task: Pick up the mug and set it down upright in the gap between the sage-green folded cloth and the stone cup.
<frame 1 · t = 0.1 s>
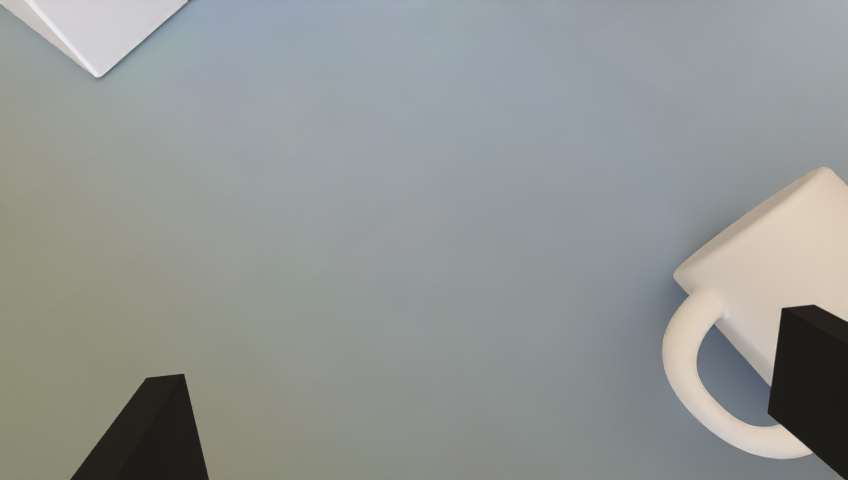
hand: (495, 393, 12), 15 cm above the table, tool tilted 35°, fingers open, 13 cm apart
mug: (739, 345, 28), on the table
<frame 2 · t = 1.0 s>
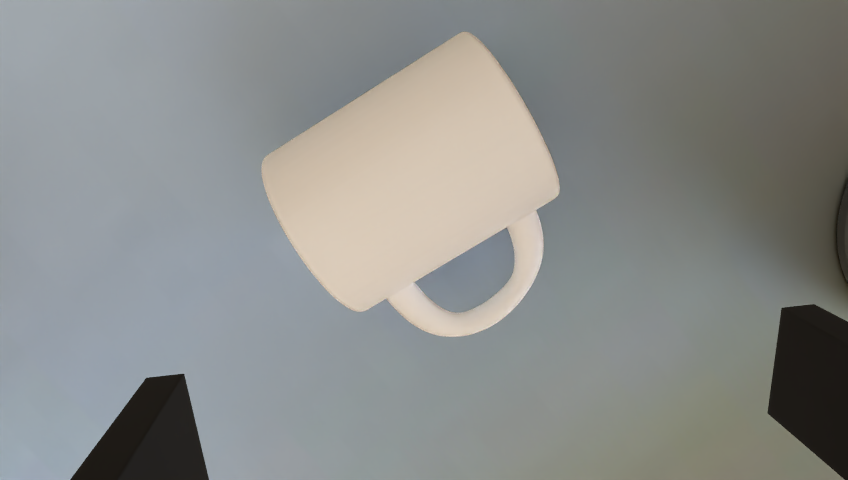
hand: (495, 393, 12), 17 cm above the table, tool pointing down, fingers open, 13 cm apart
mug: (428, 195, 28), on the table
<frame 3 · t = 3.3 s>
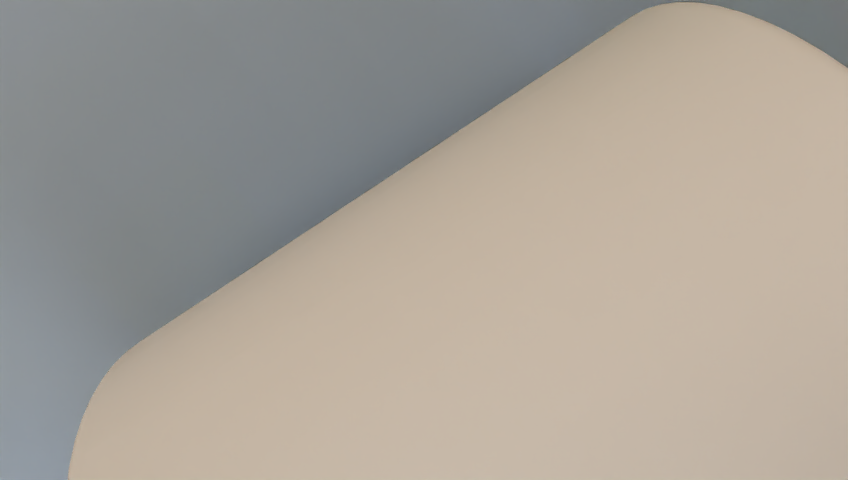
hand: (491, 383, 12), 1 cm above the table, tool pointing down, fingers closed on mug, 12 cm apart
mug: (508, 353, 14), on the table, touching gripper
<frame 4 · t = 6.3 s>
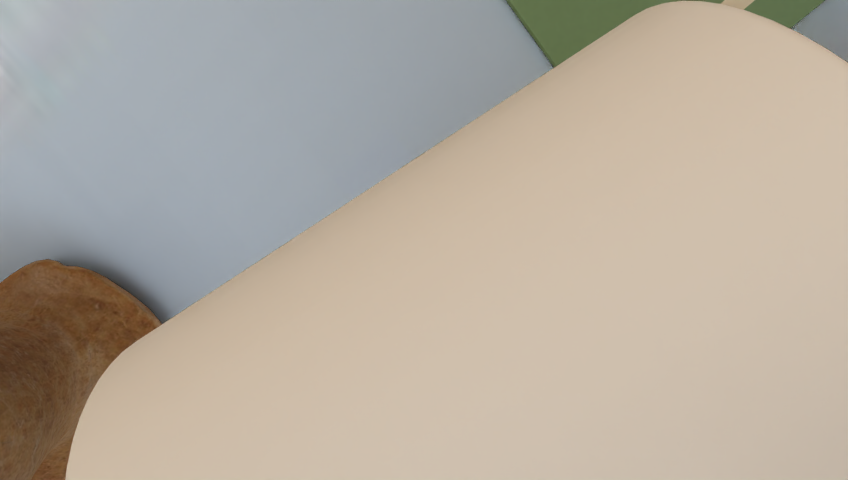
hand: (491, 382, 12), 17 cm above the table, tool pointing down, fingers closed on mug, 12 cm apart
stone cup: (41, 368, 29), on the table
mug: (507, 353, 14), point 16 cm above the table, touching gripper
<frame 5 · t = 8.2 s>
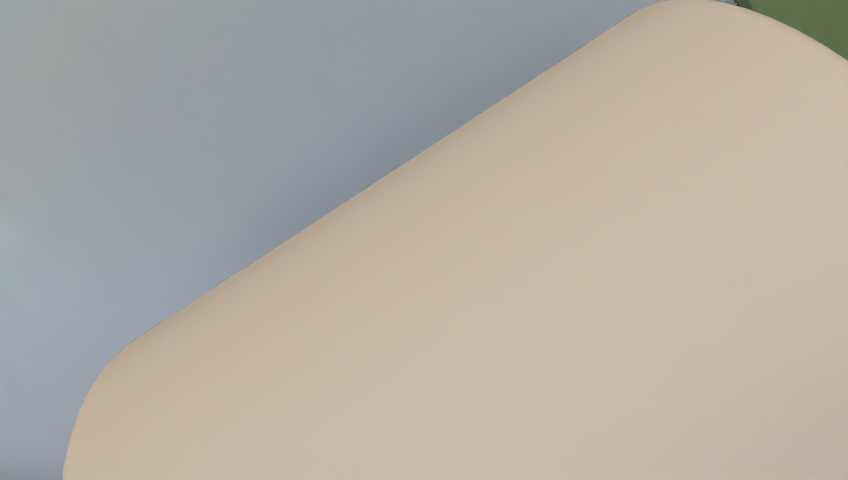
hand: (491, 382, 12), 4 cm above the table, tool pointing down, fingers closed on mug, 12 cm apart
mug: (506, 352, 14), point 2 cm above the table, touching gripper
when the fingers open (1 cm above the table, at t = 9.6 s): mug stays where it is, on the table.
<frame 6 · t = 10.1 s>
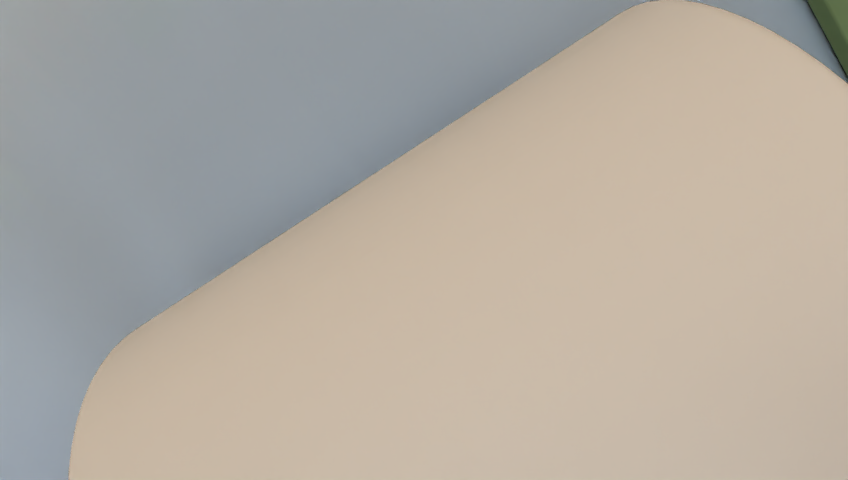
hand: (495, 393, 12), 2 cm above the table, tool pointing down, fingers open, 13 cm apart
mug: (498, 343, 14), on the table
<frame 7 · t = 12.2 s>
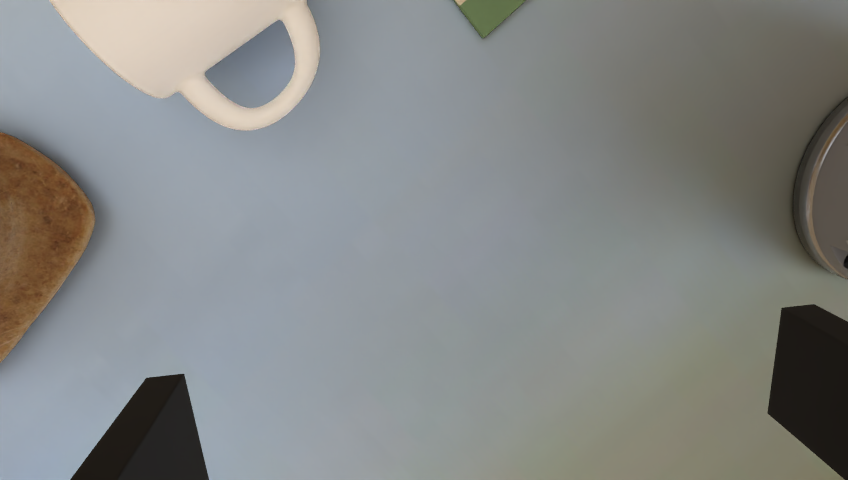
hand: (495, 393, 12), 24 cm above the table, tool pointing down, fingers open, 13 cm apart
mug: (233, 17, 31), on the table
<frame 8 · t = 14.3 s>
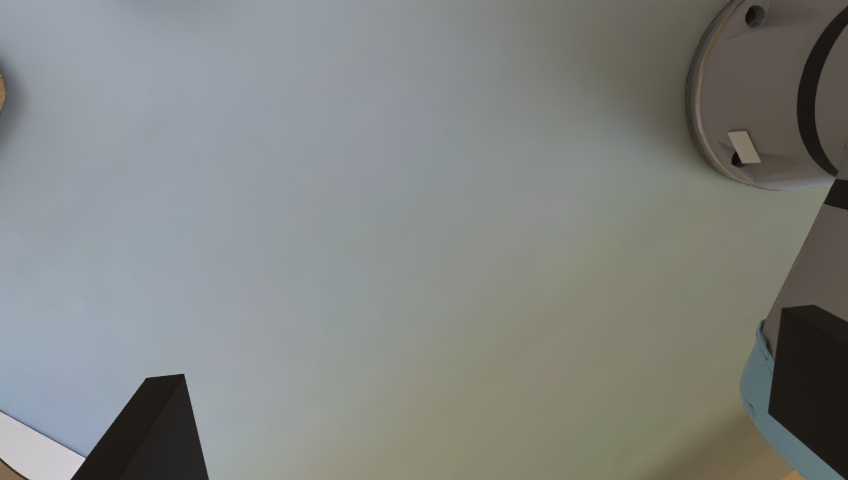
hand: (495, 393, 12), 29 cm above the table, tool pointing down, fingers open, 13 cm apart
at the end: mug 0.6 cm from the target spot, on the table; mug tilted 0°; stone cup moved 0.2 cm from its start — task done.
